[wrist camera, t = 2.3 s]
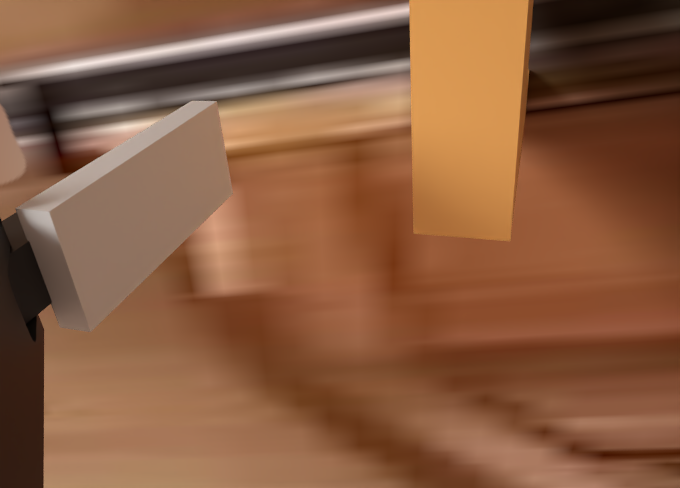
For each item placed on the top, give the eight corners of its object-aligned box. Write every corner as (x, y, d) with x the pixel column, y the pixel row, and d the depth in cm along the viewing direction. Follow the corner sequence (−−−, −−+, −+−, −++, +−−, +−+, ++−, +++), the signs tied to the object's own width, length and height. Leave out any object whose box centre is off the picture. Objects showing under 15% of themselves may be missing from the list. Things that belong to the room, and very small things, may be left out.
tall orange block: (465, -76, 25) (408, -40, 16) (541, -81, 24) (532, -46, 15) (460, 111, 29) (413, 233, 20) (525, 112, 28) (510, 241, 19)
